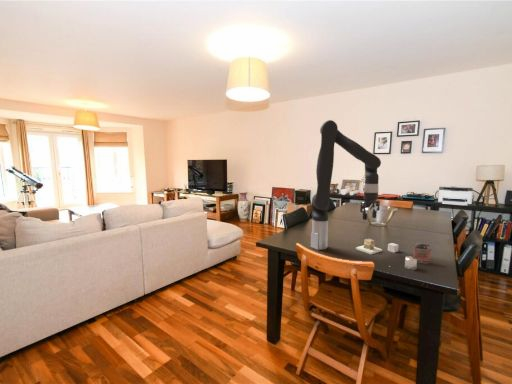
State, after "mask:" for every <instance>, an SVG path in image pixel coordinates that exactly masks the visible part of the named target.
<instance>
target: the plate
mask: <svg viewBox="0 0 512 384" xmlns="http://www.w3.org/2000/svg"><path fill="white" fill-rule="evenodd" d="M355 250H357V251H360V252H363V253H366V254H368V255H374V254H377V253H380V252H382V251H383V249H382V248H379V247H376V246H374V249H371V250H369V249H366V248H364V244H363V245H360V246H356V247H355Z"/></svg>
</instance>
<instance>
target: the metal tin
mask: <svg viewBox="0 0 512 384" xmlns="http://www.w3.org/2000/svg"><path fill="white" fill-rule="evenodd" d="M417 264H418V262H417V258H415V257H413V256H410V255H408V256H407V255H406V256H405V257H404V268H405V269H406V270H410V271H416V270H417V269H418V268H417V266H418V265H417Z"/></svg>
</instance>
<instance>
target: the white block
mask: <svg viewBox="0 0 512 384" xmlns="http://www.w3.org/2000/svg"><path fill="white" fill-rule="evenodd" d="M387 251H388V252H391V253H396V252H397V253H398V252H399V244H398V243H394V242H390V243H388V244H387Z"/></svg>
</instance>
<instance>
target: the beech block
mask: <svg viewBox="0 0 512 384" xmlns="http://www.w3.org/2000/svg"><path fill="white" fill-rule="evenodd" d="M363 245H364V248H366V249H369V250H371V249H374V247H375V240H374V239H371V238H365V239H364V240H363Z"/></svg>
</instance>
